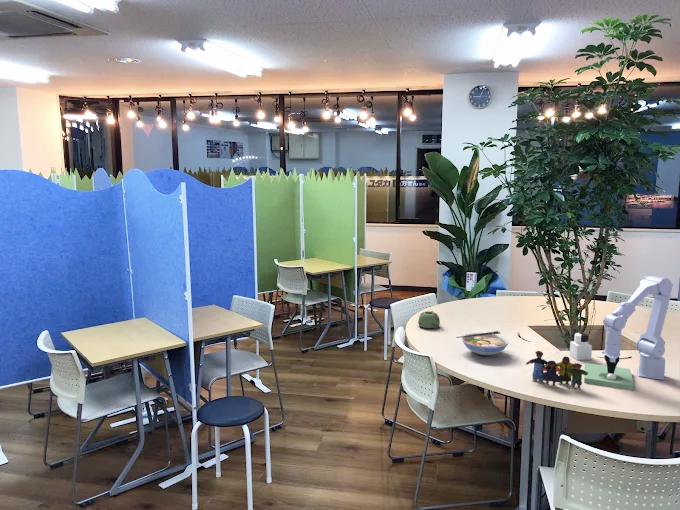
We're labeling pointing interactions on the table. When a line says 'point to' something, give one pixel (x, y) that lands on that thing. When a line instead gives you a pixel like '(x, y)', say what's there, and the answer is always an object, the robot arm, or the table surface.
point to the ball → (611, 376)
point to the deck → (599, 377)
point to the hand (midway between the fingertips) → (610, 373)
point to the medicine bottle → (580, 347)
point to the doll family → (552, 367)
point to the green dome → (428, 320)
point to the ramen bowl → (485, 342)
